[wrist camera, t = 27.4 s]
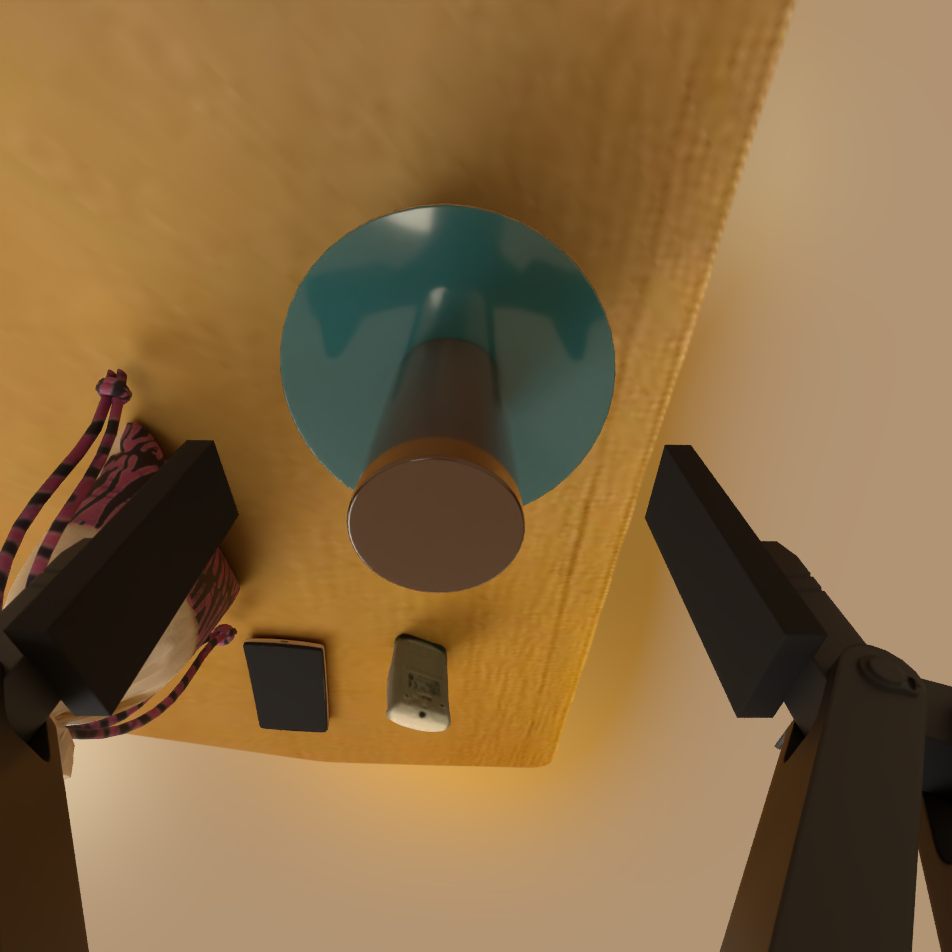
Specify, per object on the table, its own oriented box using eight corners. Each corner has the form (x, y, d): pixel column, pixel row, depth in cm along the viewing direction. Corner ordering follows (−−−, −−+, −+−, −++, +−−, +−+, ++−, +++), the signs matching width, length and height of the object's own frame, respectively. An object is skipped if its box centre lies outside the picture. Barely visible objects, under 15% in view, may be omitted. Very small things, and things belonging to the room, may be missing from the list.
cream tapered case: (450, 628, 46) (447, 708, 39) (454, 661, 49) (452, 741, 42) (390, 630, 46) (377, 710, 39) (398, 663, 49) (387, 744, 42)
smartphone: (322, 649, 46) (327, 733, 54) (325, 639, 47) (329, 723, 55) (241, 643, 45) (259, 729, 53) (246, 633, 46) (263, 719, 54)
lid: (522, 115, 16) (578, 74, 8) (651, 434, 23) (755, 599, 15) (217, 321, 20) (28, 447, 11) (406, 543, 27) (376, 724, 18)
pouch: (295, 614, 45) (200, 867, 29) (210, 622, 45) (71, 875, 29) (161, 354, 31) (-163, 568, 15) (41, 371, 31) (-393, 595, 16)
